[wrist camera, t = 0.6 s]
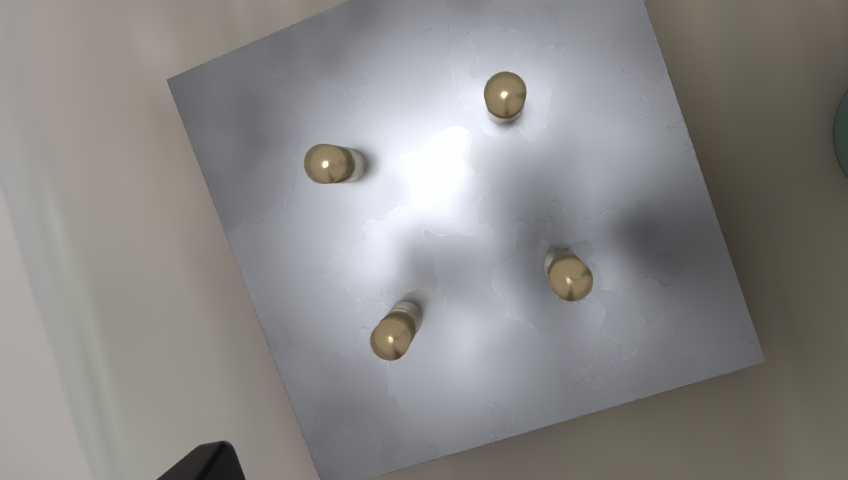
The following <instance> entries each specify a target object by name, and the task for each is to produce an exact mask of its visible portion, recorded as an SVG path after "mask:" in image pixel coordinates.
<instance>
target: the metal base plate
mask: <svg viewBox="0 0 848 480" xmlns="http://www.w3.org/2000/svg"><path fill="white" fill-rule="evenodd" d="M167 82H168V85H169V88H170V90H171V93H172V95H173V98H174V101H175V103H176V106H177V108H178V111H179V114H180V116H181V119H182V121H183V124H184V127H185V129H186V132H187V134H188V137H189V140H190V142H191V145H192V147H193V150H194V153H195V155H196V158H197V160H198V163H199V166H200V168H201V171H202V174H203V176H204V179H205V181H206V184H207V187H208V189H209V192H210V194H211V197H212V200H213V202H214V205H215V207H216V210H217V213H218V215H219V218H220V220H221V223H222V226H223V228H224V231H225V233H226V236H227V239H228V241H229V244H230V246H231V249H232V252H233V254H234V257H235V259H236V262H237V265H238V267H239V270H240V272H241V275H242V278H243V280H244V283H245V285H246V288H247V291H248V293H249V296H250V298H251V301H252V304H253V306H254V309H255V311H256V314H257V317H258V319H259V322H260V325H261V327H262V330H263V332H264V335H265V338H266V340H267V343H268V345H269V348H270V351H271V353H272V356H273V358H274V361H275V364H276V366H277V369H278V371H279V374H280V377H281V379H282V382H283V384H284V387H285V390H286V392H287V395H288V397H289V400H290V403H291V405H292V408H293V410H294V413H295V416H296V418H297V421H298V423H299V426H300V429H301V431H302V434H303V436H304V439H305V442H306V444H307V447H308V449H309V452H310V455H311V457H312V460H313V462H314V465H315V468H316V470H317V473H318V476H319V478H320V480H366V479H369V478H372V477H376V476H379V475H383V474H386V473H389V472H393V471H396V470H400V469H403V468H407V467H410V466H413V465H417V464H420V463H424V462H427V461H430V460H434V459H437V458H441V457H444V456H447V455H451V454H454V453H458V452H461V451H464V450H468V449H471V448H475V447H478V446H481V445H485V444H488V443H492V442H495V441H498V440H502V439H505V438H509V437H512V436H516V435H519V434H522V433H526V432H529V431H533V430H536V429H539V428H543V427H546V426H550V425H553V424H556V423H560V422H563V421H567V420H570V419H573V418H577V417H580V416H584V415H587V414H590V413H594V412H597V411H601V410H604V409H608V408H611V407H614V406H618V405H621V404H625V403H628V402H631V401H635V400H638V399H642V398H645V397H648V396H652V395H655V394H659V393H662V392H665V391H669V390H672V389H676V388H679V387H682V386H686V385H689V384H693V383H696V382H699V381H703V380H706V379H710V378H713V377H717V376H720V375H723V374H727V373H730V372H734V371H737V370H740V369H744V368H747V367H751V366H754V365H757V364H761V363H764V362H766V361H765V358H764V355H763V352H762V349H761V346H760V343H759V340H758V337H757V334H756V331H755V328H754V325H753V322H752V319H751V316H750V314H749V311H748V308H747V305H746V302H745V299H744V296H743V293H742V290H741V287H740V284H739V281H738V278H737V275H736V272H735V269H734V266H733V263H732V260H731V257H730V254H729V251H728V248H727V245H726V243H725V240H724V237H723V234H722V231H721V228H720V225H719V222H718V219H717V216H716V213H715V210H714V207H713V204H712V201H711V198H710V195H709V192H708V189H707V186H706V183H705V180H704V177H703V175H702V172H701V169H700V166H699V163H698V160H697V157H696V154H695V151H694V148H693V145H692V142H691V139H690V136H689V133H688V130H687V127H686V124H685V121H684V118H683V115H682V112H681V109H680V107H679V104H678V101H677V98H676V95H675V92H674V89H673V86H672V83H671V80H670V77H669V74H668V71H667V68H666V65H665V62H664V59H663V56H662V53H661V50H660V47H659V44H658V41H657V38H656V36H655V33H654V30H653V27H652V24H651V21H650V18H649V15H648V12H647V9H646V6H645V3H644V0H349V1H347V2H345V3H343V4H340V5H338V6H336V7H333V8H331V9H329V10H326V11H324V12H322V13H319V14H317V15H315V16H313V17H310V18H308V19H306V20H303V21H301V22H299V23H296V24H294V25H292V26H289V27H287V28H285V29H283V30H280V31H278V32H276V33H273V34H271V35H269V36H266V37H264V38H262V39H259V40H257V41H255V42H253V43H250V44H248V45H246V46H243V47H241V48H239V49H236V50H234V51H232V52H229V53H227V54H225V55H222V56H220V57H218V58H216V59H213V60H211V61H209V62H206V63H204V64H202V65H199V66H197V67H195V68H192V69H190V70H188V71H186V72H183V73H181V74H179V75H176V76H174V77H172V78H169V79H167Z"/></svg>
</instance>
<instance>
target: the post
mask: <svg viewBox="0 0 848 480" xmlns="http://www.w3.org/2000/svg"><path fill="white" fill-rule="evenodd" d="M833 137H834V147H835V151H836V155H837V158H838V160H839V163H840V165H841V167H842V169H843V170H844V172H845V174H846V175H847V176H848V91H847V92H846V94H845V96H844V97H843V99H842V101H841V103H840V105H839V108H838V111H837V114H836V118H835V123H834V135H833Z"/></svg>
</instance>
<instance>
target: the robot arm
mask: <svg viewBox="0 0 848 480" xmlns="http://www.w3.org/2000/svg"><path fill="white" fill-rule="evenodd" d="M157 480H246V479H245V476H244V473H243V471H242V468H241V465H240V462H239V460H238V457H237V454H236V452H235V449H234V447H233V446H232V444H231V443H230V442H228V441H219V442H213V443H207V444H202V445H199V446H198V447H196V448H195V449H194V450H192V451H191V452H190V453H189V454H188V455H186V456H185V457H184V458H183V459H181V460H180V461H179V462H178V463H176V464H175V465H174V466H173V467H172V468H170V469H169V470H168V471H167V472H165V473H164V474H163V475H162V476H161V477H159V478H158V479H157Z"/></svg>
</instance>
